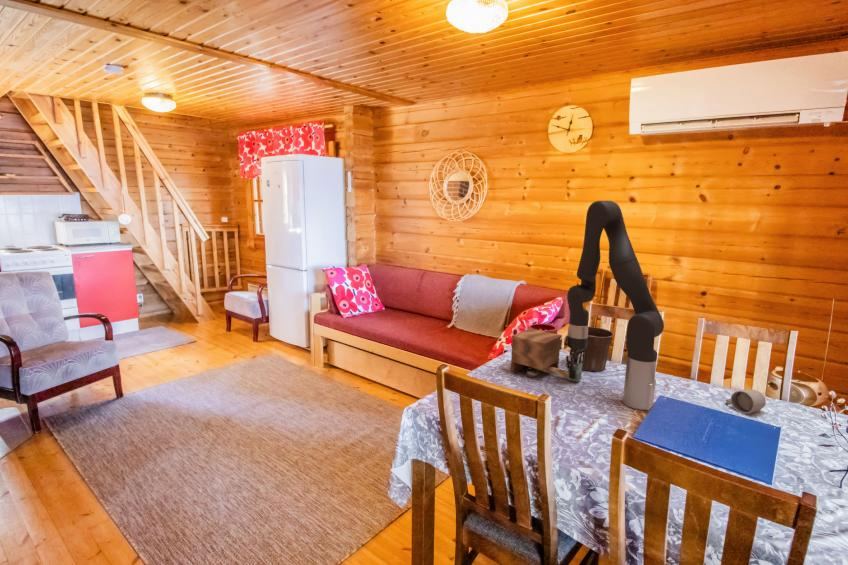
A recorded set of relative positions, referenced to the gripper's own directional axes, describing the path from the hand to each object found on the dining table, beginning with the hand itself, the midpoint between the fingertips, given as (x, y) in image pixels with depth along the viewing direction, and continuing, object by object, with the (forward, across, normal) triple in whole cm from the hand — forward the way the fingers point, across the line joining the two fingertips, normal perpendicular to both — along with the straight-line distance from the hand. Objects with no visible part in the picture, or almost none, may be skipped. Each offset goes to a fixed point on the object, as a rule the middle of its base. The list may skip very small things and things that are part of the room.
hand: (574, 376), depth 177 cm
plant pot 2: (+2, +27, +27) cm, 38 cm away
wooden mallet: (+1, 0, +9) cm, 9 cm away
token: (+2, -6, +15) cm, 16 cm away
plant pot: (+2, +21, +1) cm, 21 cm away
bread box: (+2, -2, +16) cm, 16 cm away
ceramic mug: (+2, +17, -54) cm, 56 cm away
